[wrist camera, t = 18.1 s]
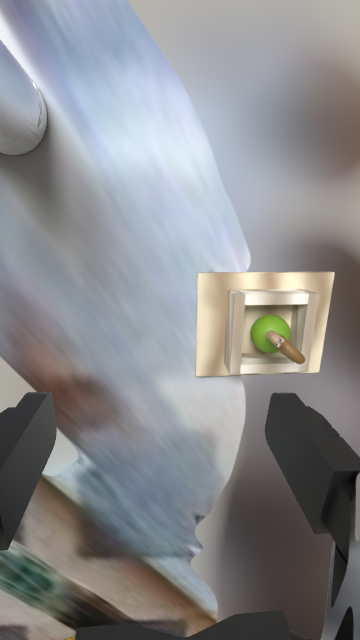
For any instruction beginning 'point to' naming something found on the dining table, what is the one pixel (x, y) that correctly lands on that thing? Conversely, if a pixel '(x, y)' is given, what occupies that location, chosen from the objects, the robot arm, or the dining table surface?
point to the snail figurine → (274, 337)
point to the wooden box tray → (246, 307)
